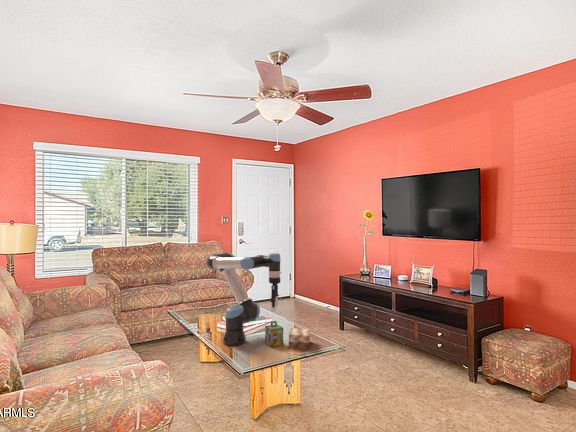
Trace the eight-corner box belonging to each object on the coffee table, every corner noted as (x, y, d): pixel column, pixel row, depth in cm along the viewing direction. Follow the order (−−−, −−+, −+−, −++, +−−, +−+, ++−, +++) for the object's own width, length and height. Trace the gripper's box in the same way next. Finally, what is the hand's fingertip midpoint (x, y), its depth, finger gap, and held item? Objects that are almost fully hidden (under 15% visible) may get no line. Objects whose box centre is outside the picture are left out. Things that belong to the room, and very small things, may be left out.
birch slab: (288, 341, 226) (288, 334, 226) (290, 334, 239) (290, 328, 239) (309, 342, 225) (309, 335, 225) (309, 335, 238) (309, 329, 238)
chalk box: (271, 347, 227) (271, 324, 227) (264, 343, 234) (264, 321, 234) (283, 344, 232) (283, 322, 232) (276, 340, 239) (276, 318, 239)
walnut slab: (288, 349, 226) (288, 342, 226) (289, 341, 239) (289, 335, 239) (309, 349, 225) (309, 342, 225) (309, 342, 238) (309, 335, 238)
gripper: (278, 280, 220) (278, 314, 220) (281, 273, 245) (281, 304, 245) (266, 280, 220) (266, 314, 221) (271, 273, 245) (271, 304, 245)
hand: (274, 309), depth 233 cm, fingers open, 13 cm apart
